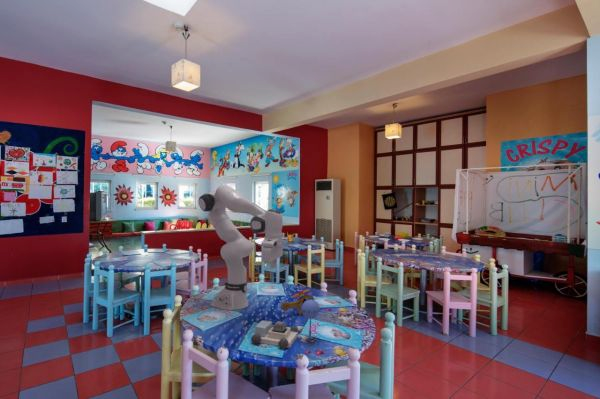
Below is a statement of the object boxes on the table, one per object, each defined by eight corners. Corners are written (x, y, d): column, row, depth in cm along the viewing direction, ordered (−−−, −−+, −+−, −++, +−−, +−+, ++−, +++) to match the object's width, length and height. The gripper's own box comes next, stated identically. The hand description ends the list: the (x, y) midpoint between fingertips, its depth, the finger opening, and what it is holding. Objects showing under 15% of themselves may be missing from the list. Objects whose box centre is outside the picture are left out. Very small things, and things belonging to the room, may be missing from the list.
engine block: (272, 336, 143) (273, 323, 143) (276, 332, 147) (276, 320, 147) (283, 337, 142) (283, 325, 142) (286, 334, 146) (286, 321, 146)
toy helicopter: (317, 313, 177) (317, 289, 177) (284, 320, 167) (285, 294, 167) (309, 309, 184) (310, 286, 184) (278, 315, 174) (278, 290, 174)
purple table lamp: (299, 334, 150) (300, 297, 150) (317, 334, 151) (318, 297, 151) (301, 342, 142) (302, 303, 141) (320, 342, 142) (321, 303, 142)
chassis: (249, 343, 140) (250, 330, 140) (264, 329, 155) (264, 317, 155) (287, 350, 135) (288, 336, 135) (298, 334, 150) (299, 322, 150)
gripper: (275, 238, 172) (274, 263, 172) (259, 243, 153) (259, 271, 153) (286, 239, 170) (285, 264, 170) (271, 244, 151) (271, 272, 151)
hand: (272, 267), depth 161 cm, fingers closed
